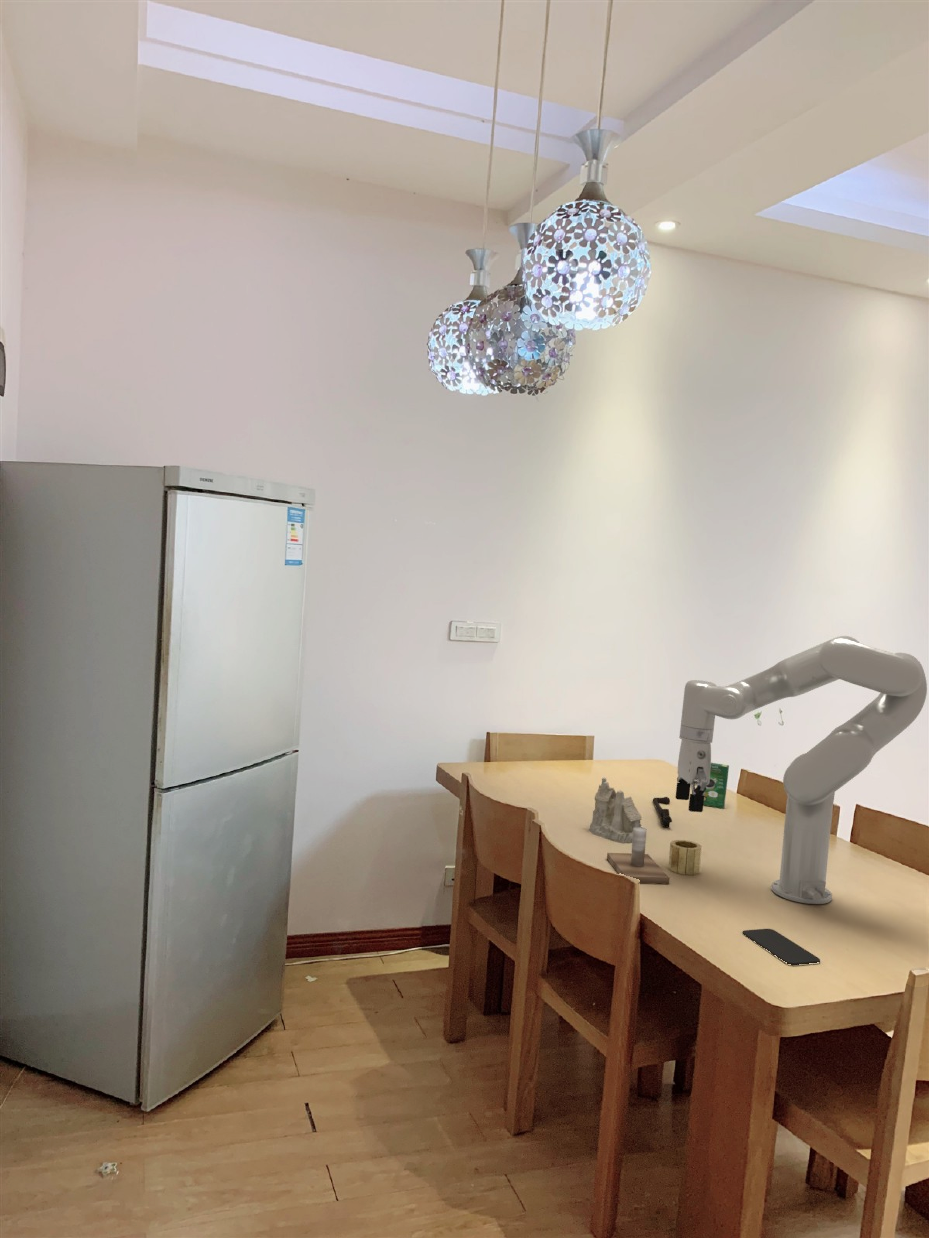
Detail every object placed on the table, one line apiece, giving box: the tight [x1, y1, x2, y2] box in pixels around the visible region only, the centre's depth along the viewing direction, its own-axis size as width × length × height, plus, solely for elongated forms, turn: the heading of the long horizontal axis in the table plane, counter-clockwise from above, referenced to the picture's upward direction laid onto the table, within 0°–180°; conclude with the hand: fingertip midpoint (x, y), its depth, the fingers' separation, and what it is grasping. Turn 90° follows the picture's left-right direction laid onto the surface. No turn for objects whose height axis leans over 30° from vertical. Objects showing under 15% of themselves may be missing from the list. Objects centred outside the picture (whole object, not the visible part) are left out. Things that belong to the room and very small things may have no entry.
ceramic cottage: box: [589, 777, 642, 844], centre depth 238 cm, size 16×16×15 cm
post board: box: [606, 826, 670, 885], centre depth 208 cm, size 16×10×10 cm, turn 6°
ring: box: [668, 839, 703, 876], centre depth 211 cm, size 7×7×6 cm
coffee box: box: [703, 762, 730, 809], centre depth 271 cm, size 8×3×13 cm, turn 67°
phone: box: [741, 928, 821, 965], centre depth 170 cm, size 7×1×15 cm
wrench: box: [652, 796, 673, 828], centre depth 257 cm, size 5×5×30 cm
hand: (688, 805), depth 211 cm, fingers open, 9 cm apart
